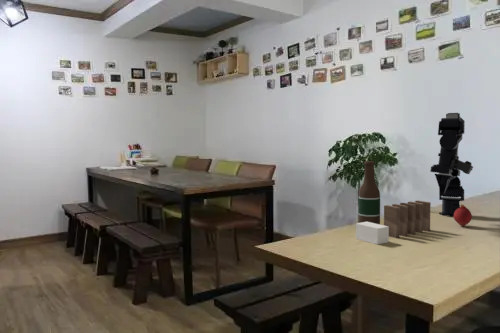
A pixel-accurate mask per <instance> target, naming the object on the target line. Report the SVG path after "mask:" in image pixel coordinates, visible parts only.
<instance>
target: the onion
mask: <svg viewBox="0 0 500 333" xmlns="http://www.w3.org/2000/svg"><path fill="white" fill-rule="evenodd" d="M472 218H473V216H472V212H471V210H470V209H469V208H467V207H466V206H465V205H464V204H461V203H460V207H459V208H458V209H457V210H456V211H455V212H454V216H453V219H454V221H455V222H456V223H457V224H458V225H459V226H460V227H465V226H467V225H469V223H470V222H471V221H472Z"/></svg>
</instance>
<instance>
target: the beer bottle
mask: <svg viewBox="0 0 500 333" xmlns="http://www.w3.org/2000/svg"><path fill="white" fill-rule="evenodd" d="M363 164H364V175H363V182H362V184H361V186H360V188H359V190H358V197H357V198H358V202H357V204H358V211H357V212H358V216H357V218H358V219H357V220H358V221H357V223H361V222H371V223H375V224H380V225H381V191H380V189H379V187H378V185H377V184H376V178H375V177H376V176H375V165H376V163H375V161H374V160H365V161H364V162H363Z"/></svg>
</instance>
